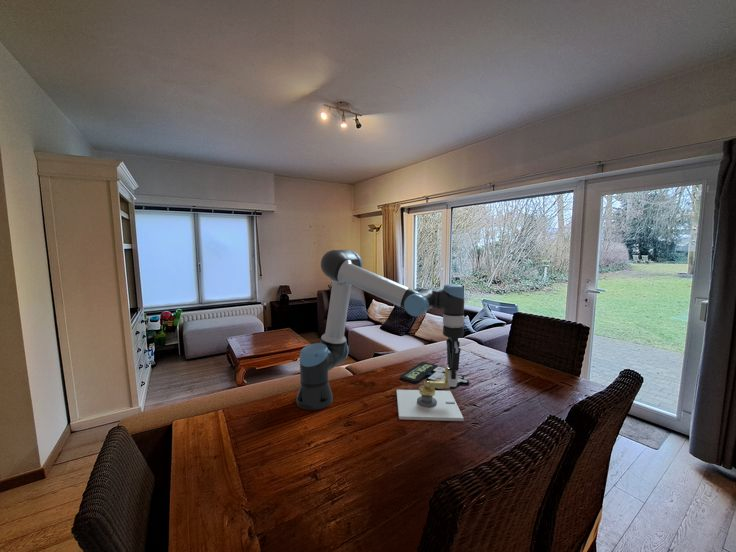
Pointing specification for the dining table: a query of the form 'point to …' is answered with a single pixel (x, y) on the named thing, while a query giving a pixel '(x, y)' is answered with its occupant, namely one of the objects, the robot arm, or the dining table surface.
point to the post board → (427, 406)
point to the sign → (429, 375)
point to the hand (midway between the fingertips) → (452, 385)
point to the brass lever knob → (434, 385)
